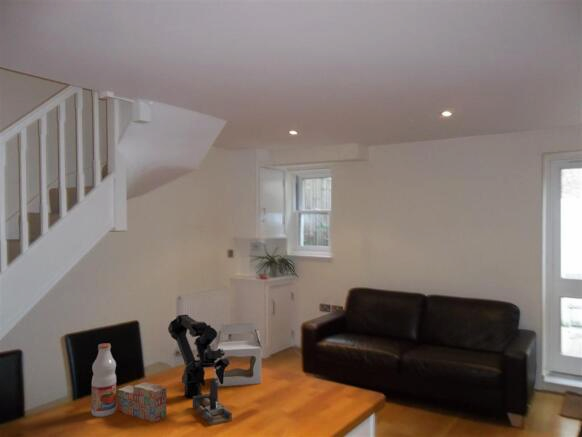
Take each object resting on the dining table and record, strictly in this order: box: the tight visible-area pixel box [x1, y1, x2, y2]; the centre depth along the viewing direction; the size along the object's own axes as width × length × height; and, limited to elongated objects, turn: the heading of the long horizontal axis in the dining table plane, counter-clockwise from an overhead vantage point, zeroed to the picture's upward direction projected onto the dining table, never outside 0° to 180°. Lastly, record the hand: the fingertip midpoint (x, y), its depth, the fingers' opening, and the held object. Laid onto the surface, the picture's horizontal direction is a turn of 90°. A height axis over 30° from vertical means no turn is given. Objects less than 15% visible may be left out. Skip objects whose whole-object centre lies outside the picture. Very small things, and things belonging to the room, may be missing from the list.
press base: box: [192, 392, 233, 426], centre depth 192 cm, size 21×9×4 cm, turn 31°
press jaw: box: [205, 378, 223, 416], centre depth 190 cm, size 5×6×13 cm
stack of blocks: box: [117, 381, 168, 423], centre depth 192 cm, size 21×6×12 cm, turn 61°
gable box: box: [214, 323, 262, 387], centre depth 233 cm, size 22×13×28 cm, turn 103°
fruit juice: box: [90, 342, 117, 418], centre depth 193 cm, size 9×9×28 cm
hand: (213, 385), depth 194 cm, fingers open, 9 cm apart
